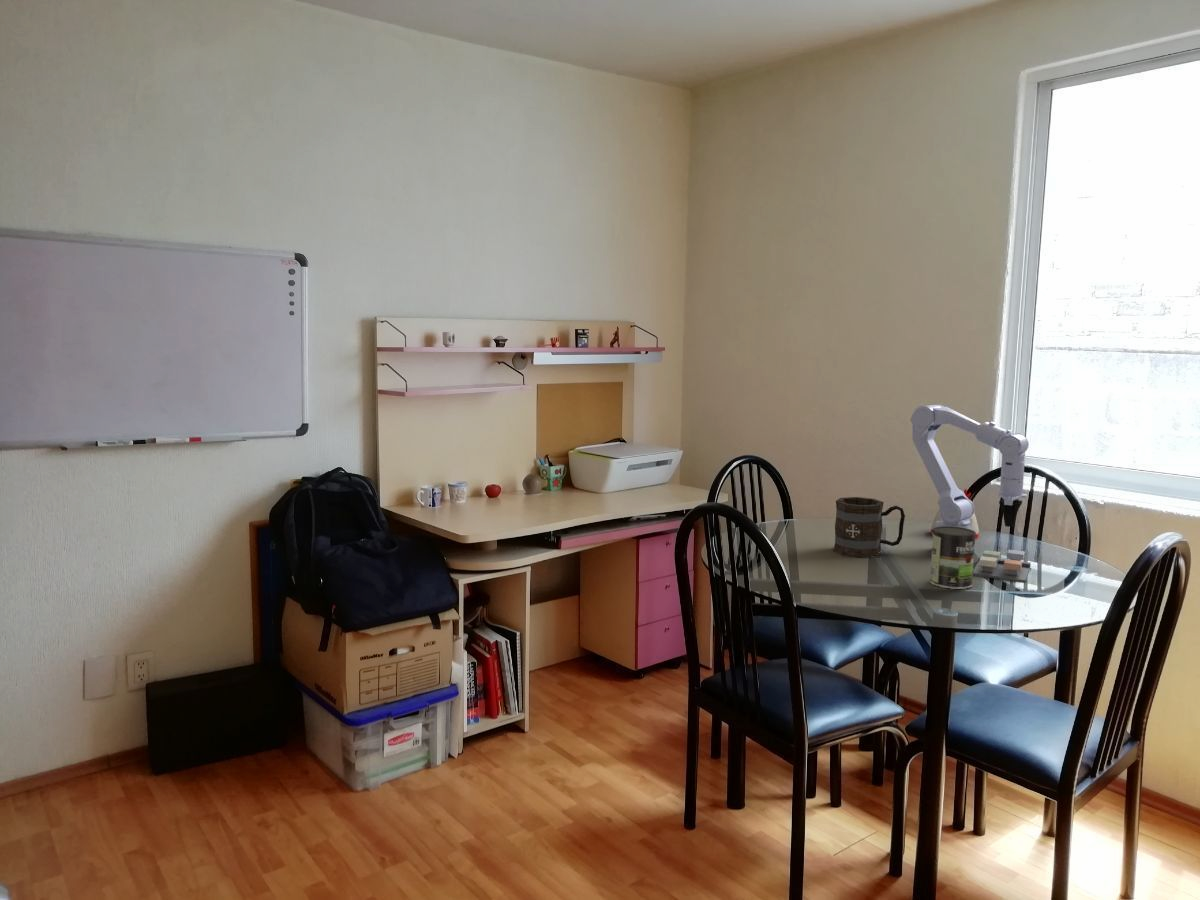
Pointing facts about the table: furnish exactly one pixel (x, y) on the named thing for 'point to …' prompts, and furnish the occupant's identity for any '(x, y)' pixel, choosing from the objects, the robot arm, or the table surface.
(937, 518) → the kitchen timer
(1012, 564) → the terracotta key
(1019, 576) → the keypad board
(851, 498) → the mug
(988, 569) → the ivory key
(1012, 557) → the grey square block
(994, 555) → the cream white block
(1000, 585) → the table surface
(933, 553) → the coffee can
